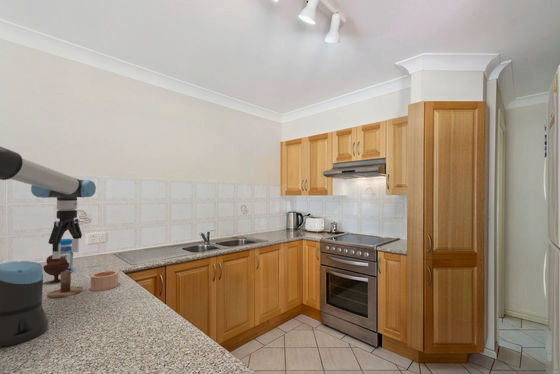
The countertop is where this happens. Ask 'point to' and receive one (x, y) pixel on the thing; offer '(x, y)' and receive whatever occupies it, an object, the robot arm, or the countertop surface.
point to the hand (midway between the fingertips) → (66, 255)
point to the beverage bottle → (67, 252)
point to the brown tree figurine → (56, 267)
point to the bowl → (104, 280)
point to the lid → (65, 287)
